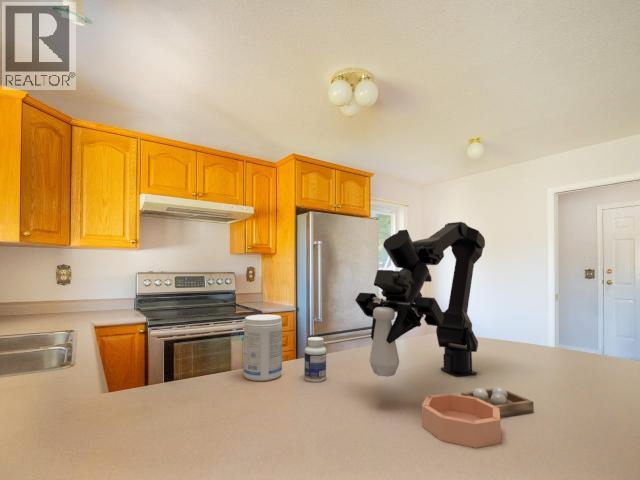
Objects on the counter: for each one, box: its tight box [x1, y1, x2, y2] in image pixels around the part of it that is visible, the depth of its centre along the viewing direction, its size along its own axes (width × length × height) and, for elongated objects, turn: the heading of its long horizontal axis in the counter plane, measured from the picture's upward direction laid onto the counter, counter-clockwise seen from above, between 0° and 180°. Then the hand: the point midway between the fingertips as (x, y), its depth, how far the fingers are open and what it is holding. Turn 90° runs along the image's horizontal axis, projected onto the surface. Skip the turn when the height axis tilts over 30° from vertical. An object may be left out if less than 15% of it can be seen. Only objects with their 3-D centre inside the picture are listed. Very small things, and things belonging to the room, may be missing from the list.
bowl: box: [421, 392, 502, 449], centre depth 58 cm, size 12×12×4 cm
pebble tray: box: [460, 387, 535, 419], centre depth 67 cm, size 10×8×2 cm
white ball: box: [492, 386, 508, 399], centre depth 68 cm, size 3×3×3 cm
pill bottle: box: [303, 336, 327, 383], centre depth 83 cm, size 5×5×10 cm
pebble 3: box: [491, 393, 507, 406], centre depth 65 cm, size 3×3×3 cm
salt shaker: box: [369, 307, 400, 378], centre depth 68 cm, size 6×6×13 cm
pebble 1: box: [472, 387, 488, 402], centre depth 68 cm, size 3×3×3 cm
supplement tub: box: [243, 314, 283, 382], centre depth 85 cm, size 10×10×15 cm
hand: (380, 340), depth 67 cm, fingers closed on salt shaker, 3 cm apart
